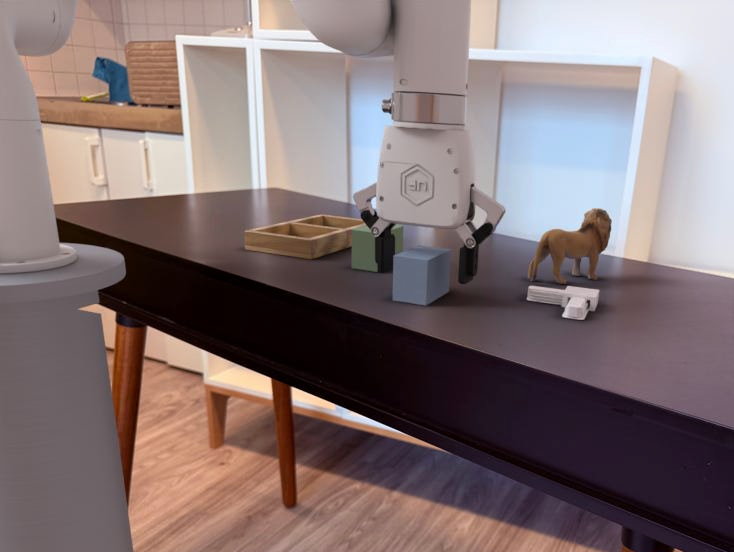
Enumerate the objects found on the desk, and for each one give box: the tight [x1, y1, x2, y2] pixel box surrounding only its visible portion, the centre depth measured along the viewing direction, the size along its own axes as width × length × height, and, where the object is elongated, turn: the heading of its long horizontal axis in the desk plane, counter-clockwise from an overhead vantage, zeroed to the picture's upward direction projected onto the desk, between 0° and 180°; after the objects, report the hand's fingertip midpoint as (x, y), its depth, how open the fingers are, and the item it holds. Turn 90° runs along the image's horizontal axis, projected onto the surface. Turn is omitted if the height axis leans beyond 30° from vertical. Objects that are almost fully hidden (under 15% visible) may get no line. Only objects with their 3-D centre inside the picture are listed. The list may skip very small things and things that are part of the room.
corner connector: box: [526, 285, 600, 321], centre depth 74 cm, size 8×8×2 cm
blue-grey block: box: [392, 244, 452, 307], centre depth 74 cm, size 7×4×5 cm, turn 162°
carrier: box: [243, 214, 366, 260], centre depth 99 cm, size 20×10×3 cm, turn 162°
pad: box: [351, 224, 404, 273], centre depth 87 cm, size 7×4×5 cm, turn 162°
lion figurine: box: [527, 207, 613, 285], centre depth 87 cm, size 15×5×9 cm, turn 136°
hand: (425, 276), depth 74 cm, fingers open, 9 cm apart
